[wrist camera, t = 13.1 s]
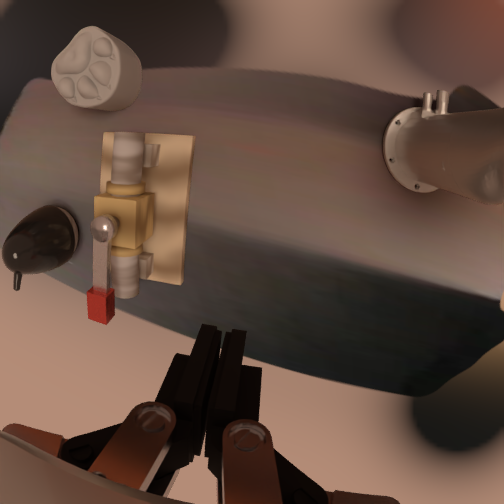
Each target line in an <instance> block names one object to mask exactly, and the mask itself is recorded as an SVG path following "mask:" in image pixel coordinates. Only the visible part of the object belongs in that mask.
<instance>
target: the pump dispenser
mask: <svg viewBox="0 0 504 504" xmlns="http://www.w3.org/2000/svg"><path fill="white" fill-rule="evenodd" d="M77 242H78V229H77V225H76V223H75V221H74V219H73V217H72V216H71V215H70V214H69V213H68V212H67V211H65V210H64V209H62V208H59V207H55V206H51V205H47V206H43V207H41V208H38V209H37V210H35V211H33V212H32V213H30V214H29V215H27V216H26V217H25V218H23V219H22V220H21V221H20V222H19V223H18V224H17V225H16V226H15V227H14V229H13V230H12V231H11V232H10V234H9V235H8V237H7V238H6V240H5V242H4V245H3V248H2V259H3V262H4V264H5V266H6V267H7V268H8V269H9V270H11V271H12V272H14V290H16V291H18V290H19V289H20V284H21V278H22V274H37V273H42V272H46V271H49V270H52V269H55V268H57V267H59V266H61V265H63V264H65V263H66V262H67V261H69V259H70V258H71V257H72V255H73V253H74V251H75V249H76V246H77Z"/></svg>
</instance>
